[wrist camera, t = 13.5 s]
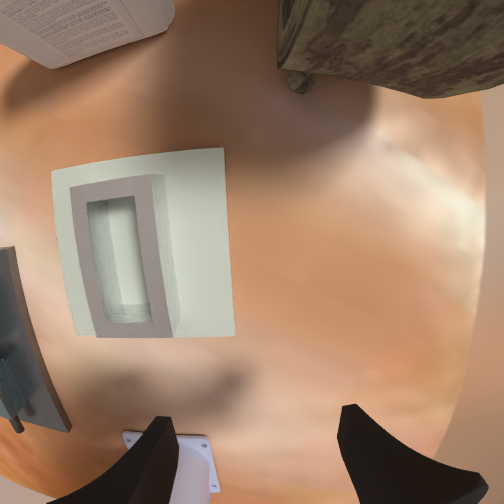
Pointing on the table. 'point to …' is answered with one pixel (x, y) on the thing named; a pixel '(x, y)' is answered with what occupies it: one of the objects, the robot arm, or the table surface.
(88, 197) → the gray rectangular frame
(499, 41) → the tabletop clock
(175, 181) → the sage mat
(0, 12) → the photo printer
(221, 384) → the table surface
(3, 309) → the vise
